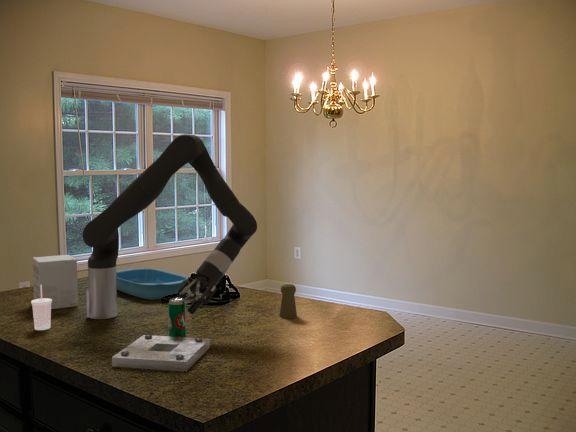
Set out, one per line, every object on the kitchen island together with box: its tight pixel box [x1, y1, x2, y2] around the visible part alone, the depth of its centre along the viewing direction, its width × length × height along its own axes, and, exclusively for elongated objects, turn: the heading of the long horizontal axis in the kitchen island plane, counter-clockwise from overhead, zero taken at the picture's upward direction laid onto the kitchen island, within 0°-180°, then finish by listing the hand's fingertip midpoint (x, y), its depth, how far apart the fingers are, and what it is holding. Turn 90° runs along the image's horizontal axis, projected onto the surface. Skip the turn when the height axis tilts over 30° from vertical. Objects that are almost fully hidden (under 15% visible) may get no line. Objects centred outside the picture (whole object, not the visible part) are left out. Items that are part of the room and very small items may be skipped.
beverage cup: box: [30, 285, 52, 331], centre depth 187 cm, size 6×6×14 cm
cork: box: [279, 283, 298, 319], centre depth 203 cm, size 6×6×11 cm
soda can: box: [167, 297, 187, 337], centre depth 176 cm, size 5×5×12 cm
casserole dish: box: [116, 268, 189, 301], centre depth 240 cm, size 37×22×7 cm, turn 46°
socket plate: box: [111, 334, 211, 372], centre depth 161 cm, size 20×20×3 cm
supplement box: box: [32, 254, 79, 310], centre depth 218 cm, size 13×13×18 cm
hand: (182, 309), depth 177 cm, fingers open, 8 cm apart
